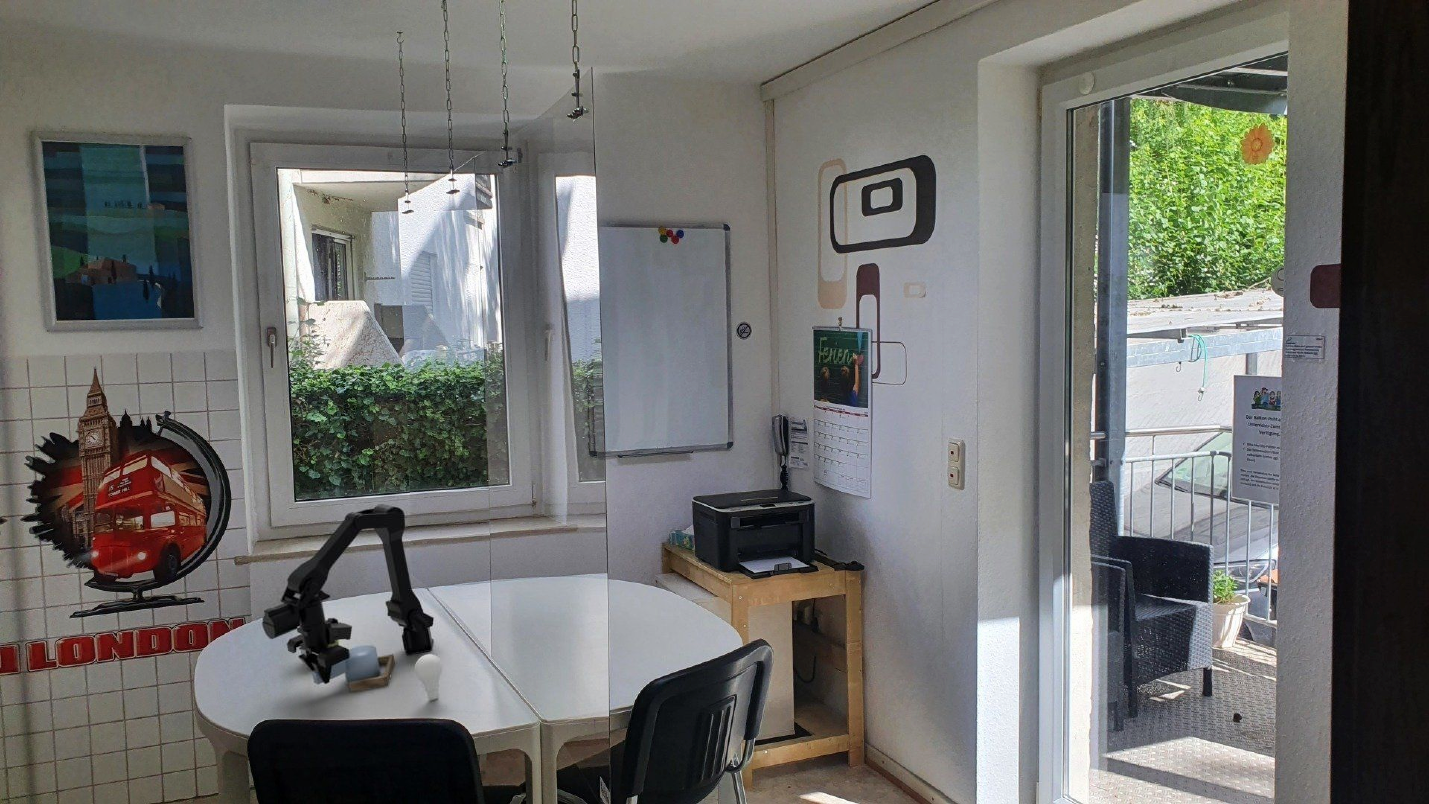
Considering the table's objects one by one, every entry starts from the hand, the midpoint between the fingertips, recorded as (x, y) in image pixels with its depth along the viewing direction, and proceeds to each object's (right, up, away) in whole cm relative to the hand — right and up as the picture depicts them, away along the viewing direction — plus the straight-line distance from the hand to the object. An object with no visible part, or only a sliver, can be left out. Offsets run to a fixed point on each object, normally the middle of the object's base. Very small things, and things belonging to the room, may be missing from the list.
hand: (324, 681), depth 231 cm
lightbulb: (+29, -2, -8) cm, 30 cm away
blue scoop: (+4, -2, +5) cm, 7 cm away
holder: (+9, -1, +7) cm, 12 cm away
